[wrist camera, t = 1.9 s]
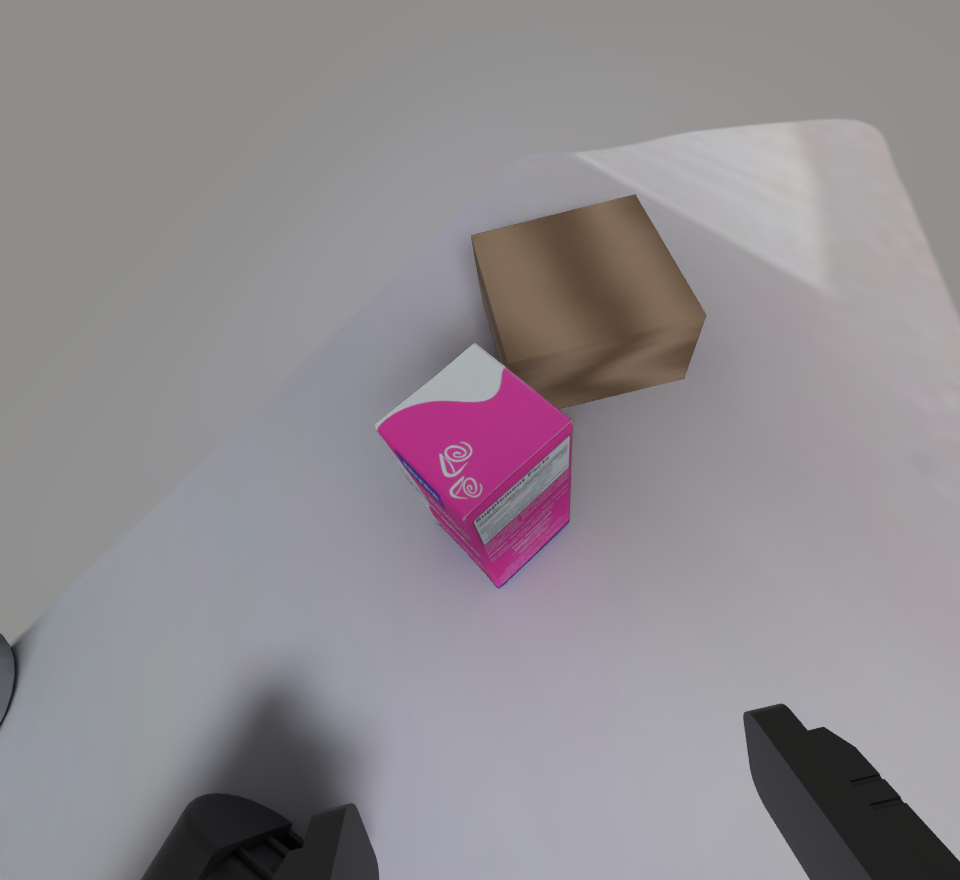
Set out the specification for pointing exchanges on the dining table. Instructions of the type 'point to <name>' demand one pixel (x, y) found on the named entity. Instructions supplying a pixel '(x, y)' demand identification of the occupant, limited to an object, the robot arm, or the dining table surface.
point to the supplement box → (485, 460)
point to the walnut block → (587, 302)
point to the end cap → (224, 842)
